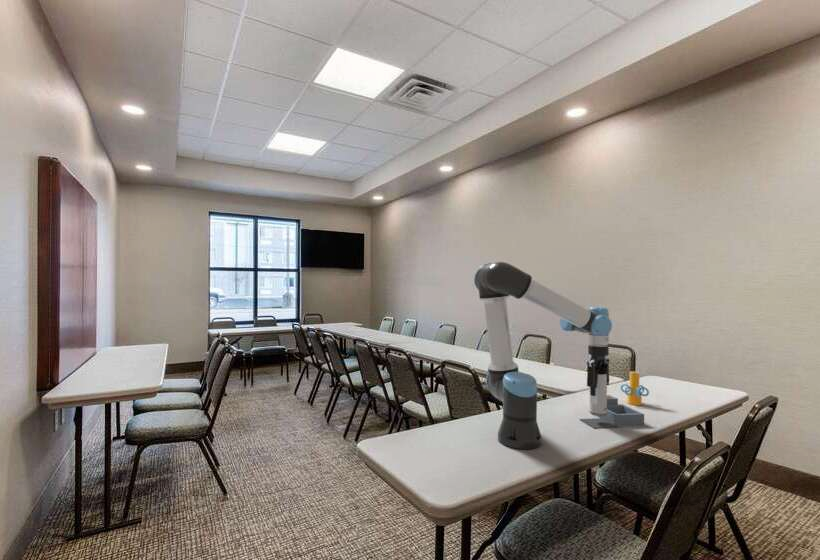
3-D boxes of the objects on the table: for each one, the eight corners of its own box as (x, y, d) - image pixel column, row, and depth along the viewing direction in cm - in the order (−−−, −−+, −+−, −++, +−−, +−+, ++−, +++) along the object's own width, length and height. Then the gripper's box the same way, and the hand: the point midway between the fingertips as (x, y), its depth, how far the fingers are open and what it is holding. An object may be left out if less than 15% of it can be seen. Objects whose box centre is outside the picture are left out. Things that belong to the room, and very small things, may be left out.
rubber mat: (593, 428, 156) (593, 427, 156) (579, 419, 166) (579, 418, 166) (617, 427, 158) (617, 426, 158) (601, 419, 167) (601, 418, 167)
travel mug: (610, 416, 159) (610, 366, 159) (593, 416, 159) (593, 366, 159) (603, 411, 165) (603, 363, 165) (587, 411, 165) (587, 363, 165)
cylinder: (651, 408, 183) (651, 375, 184) (626, 406, 185) (627, 374, 186) (641, 400, 195) (641, 370, 195) (618, 399, 197) (618, 369, 198)
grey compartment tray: (615, 426, 159) (615, 408, 159) (588, 411, 178) (588, 395, 178) (644, 425, 161) (644, 407, 161) (613, 410, 180) (613, 394, 180)
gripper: (595, 348, 153) (595, 408, 153) (618, 344, 165) (618, 400, 165) (577, 346, 159) (577, 404, 159) (600, 342, 171) (600, 396, 171)
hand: (598, 402), depth 162 cm, fingers closed on travel mug, 6 cm apart
